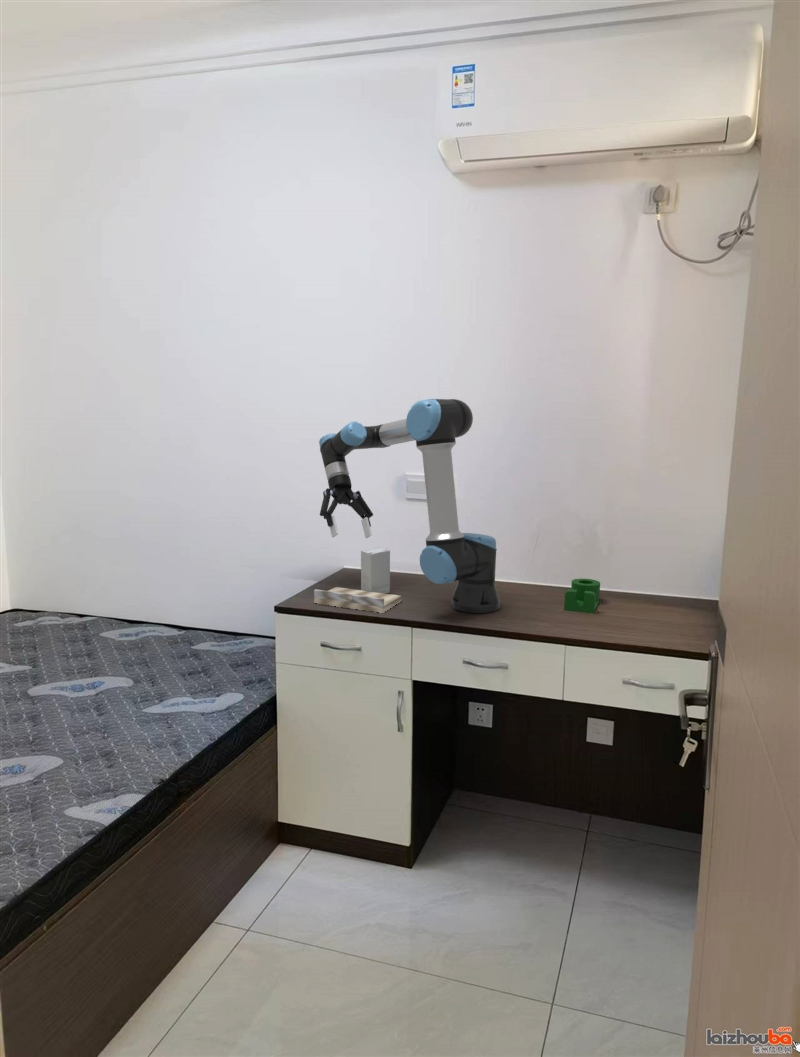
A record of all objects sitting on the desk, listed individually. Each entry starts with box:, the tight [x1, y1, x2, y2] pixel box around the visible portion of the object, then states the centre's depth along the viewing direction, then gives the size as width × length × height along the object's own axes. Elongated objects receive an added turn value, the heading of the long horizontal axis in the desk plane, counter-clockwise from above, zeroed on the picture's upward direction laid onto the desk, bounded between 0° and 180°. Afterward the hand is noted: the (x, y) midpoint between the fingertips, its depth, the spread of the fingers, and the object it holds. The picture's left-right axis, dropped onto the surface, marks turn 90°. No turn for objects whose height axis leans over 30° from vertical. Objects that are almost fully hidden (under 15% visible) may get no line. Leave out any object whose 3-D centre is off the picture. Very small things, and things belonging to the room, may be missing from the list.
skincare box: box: [360, 546, 391, 594], centre depth 252 cm, size 8×6×15 cm
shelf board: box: [313, 586, 403, 614], centre depth 242 cm, size 24×14×4 cm, turn 66°
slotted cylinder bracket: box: [563, 578, 601, 614], centre depth 243 cm, size 18×9×6 cm, turn 159°
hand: (352, 536), depth 249 cm, fingers open, 13 cm apart
